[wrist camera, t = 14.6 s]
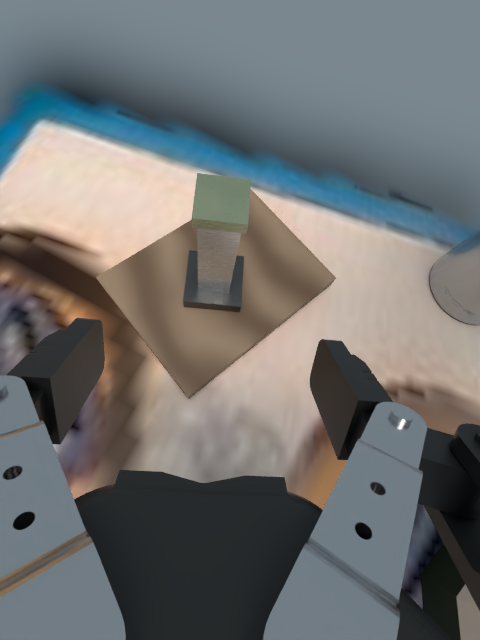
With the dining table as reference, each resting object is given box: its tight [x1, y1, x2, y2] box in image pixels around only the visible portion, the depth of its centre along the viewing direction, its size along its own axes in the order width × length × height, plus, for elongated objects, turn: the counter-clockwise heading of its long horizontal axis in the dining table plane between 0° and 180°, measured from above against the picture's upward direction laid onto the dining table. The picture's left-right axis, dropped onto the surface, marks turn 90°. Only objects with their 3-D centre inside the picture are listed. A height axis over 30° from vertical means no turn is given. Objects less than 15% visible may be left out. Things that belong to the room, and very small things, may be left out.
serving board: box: [97, 189, 336, 398], centre depth 34 cm, size 20×15×2 cm
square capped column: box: [183, 173, 251, 312], centre depth 27 cm, size 6×6×13 cm
